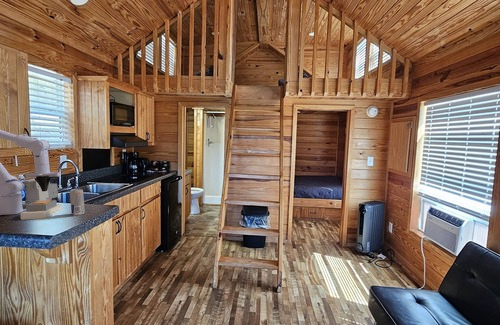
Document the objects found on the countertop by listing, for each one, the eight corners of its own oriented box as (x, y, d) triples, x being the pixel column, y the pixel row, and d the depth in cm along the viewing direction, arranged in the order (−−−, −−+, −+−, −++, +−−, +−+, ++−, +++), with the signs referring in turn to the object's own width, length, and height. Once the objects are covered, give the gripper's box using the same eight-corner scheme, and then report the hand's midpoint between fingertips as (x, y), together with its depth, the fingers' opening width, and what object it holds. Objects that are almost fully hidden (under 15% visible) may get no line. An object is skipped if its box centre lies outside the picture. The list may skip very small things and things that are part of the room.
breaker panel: (20, 219, 120) (19, 206, 119) (41, 210, 134) (39, 199, 133) (44, 218, 121) (43, 206, 120) (62, 209, 135) (61, 198, 134)
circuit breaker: (61, 202, 150) (58, 176, 149) (38, 209, 136) (36, 180, 135) (49, 202, 151) (46, 176, 150) (25, 209, 137) (22, 180, 135)
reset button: (32, 208, 124) (32, 203, 124) (39, 205, 129) (39, 200, 129) (44, 208, 125) (43, 203, 124) (50, 205, 130) (50, 200, 129)
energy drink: (75, 212, 130) (73, 189, 129) (87, 212, 130) (85, 188, 129) (69, 216, 125) (67, 191, 123) (81, 215, 125) (79, 191, 124)
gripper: (20, 165, 125) (23, 193, 127) (52, 164, 127) (55, 192, 129) (30, 164, 132) (33, 190, 134) (61, 163, 134) (63, 189, 136)
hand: (44, 191), depth 132 cm, fingers closed
